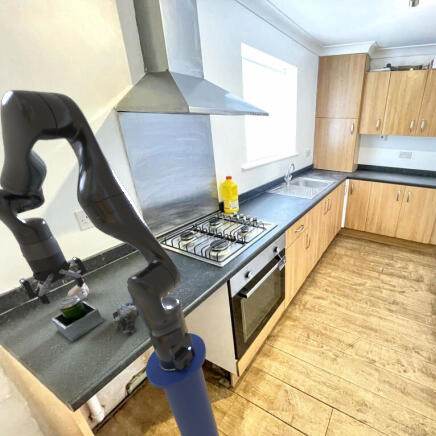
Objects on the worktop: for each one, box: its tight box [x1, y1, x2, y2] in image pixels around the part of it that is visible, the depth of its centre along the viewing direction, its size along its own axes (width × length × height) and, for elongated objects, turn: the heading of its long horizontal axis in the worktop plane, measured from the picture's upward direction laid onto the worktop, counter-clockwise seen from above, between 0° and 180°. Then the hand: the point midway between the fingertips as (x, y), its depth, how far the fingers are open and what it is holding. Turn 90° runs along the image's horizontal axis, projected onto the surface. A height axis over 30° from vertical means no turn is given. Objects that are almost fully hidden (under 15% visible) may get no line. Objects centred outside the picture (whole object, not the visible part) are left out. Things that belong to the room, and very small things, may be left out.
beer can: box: [57, 295, 87, 325], centre depth 79 cm, size 5×5×12 cm
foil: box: [111, 295, 138, 335], centre depth 83 cm, size 12×11×15 cm
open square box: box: [51, 300, 104, 342], centre depth 80 cm, size 9×9×6 cm
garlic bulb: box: [67, 277, 90, 301], centre depth 92 cm, size 7×6×8 cm
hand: (64, 294), depth 76 cm, fingers open, 8 cm apart
